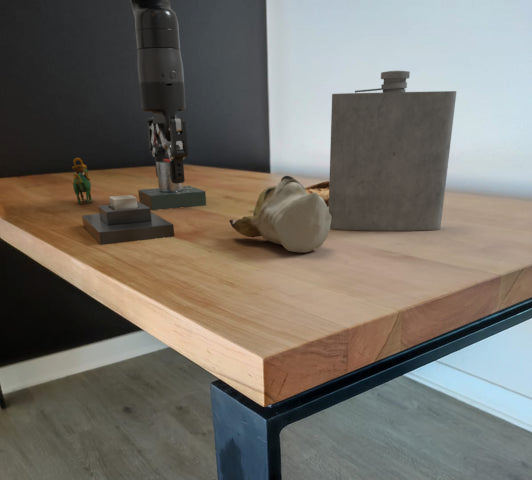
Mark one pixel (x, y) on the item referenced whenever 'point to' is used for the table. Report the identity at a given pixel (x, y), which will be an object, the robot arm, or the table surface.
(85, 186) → the figurine
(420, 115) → the hip flask
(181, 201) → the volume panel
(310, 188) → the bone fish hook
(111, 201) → the cream rectangular block
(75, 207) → the table surface
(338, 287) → the table surface
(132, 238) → the dark grey stepped block
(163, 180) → the silver cylinder cluster
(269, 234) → the ceramic sculpture
